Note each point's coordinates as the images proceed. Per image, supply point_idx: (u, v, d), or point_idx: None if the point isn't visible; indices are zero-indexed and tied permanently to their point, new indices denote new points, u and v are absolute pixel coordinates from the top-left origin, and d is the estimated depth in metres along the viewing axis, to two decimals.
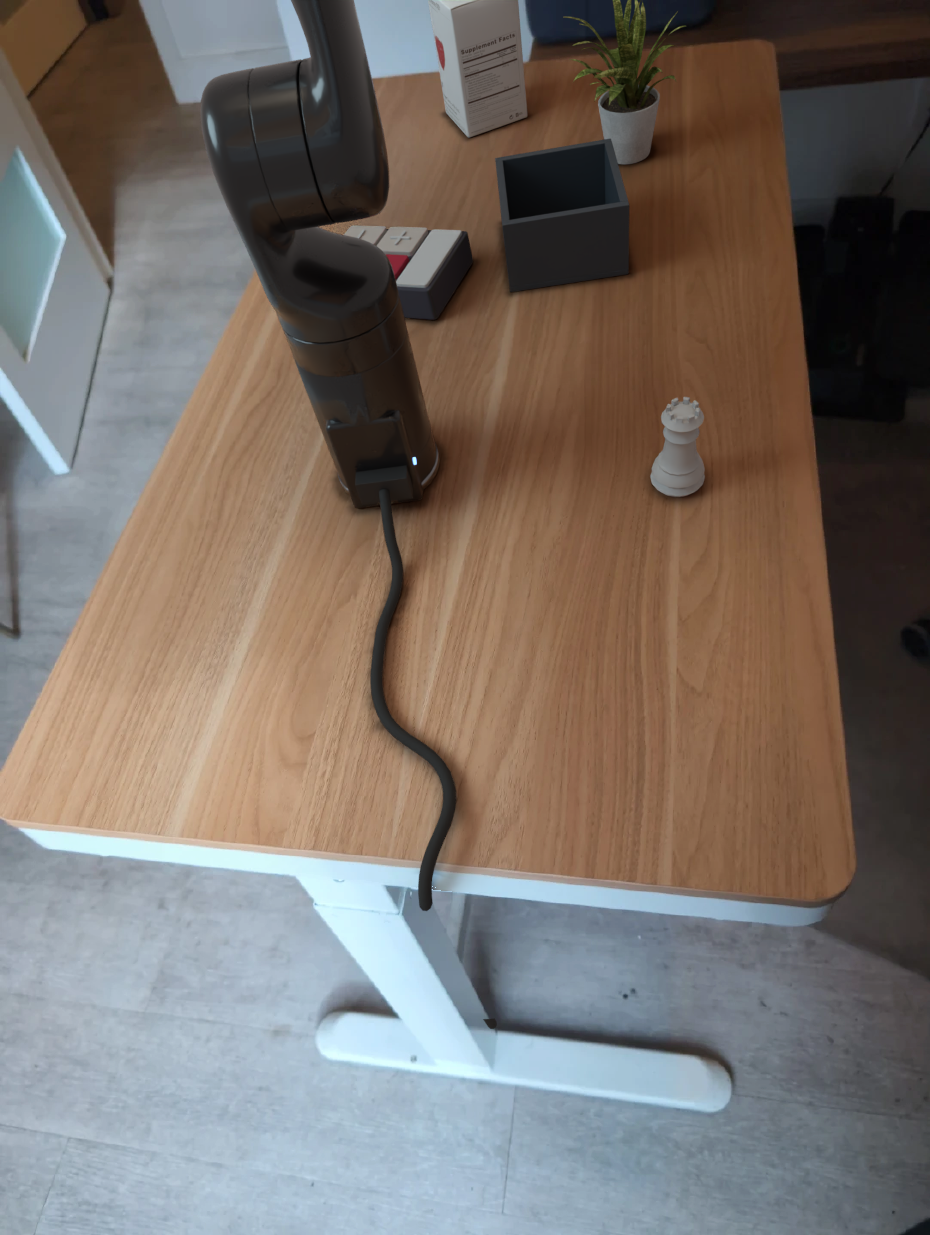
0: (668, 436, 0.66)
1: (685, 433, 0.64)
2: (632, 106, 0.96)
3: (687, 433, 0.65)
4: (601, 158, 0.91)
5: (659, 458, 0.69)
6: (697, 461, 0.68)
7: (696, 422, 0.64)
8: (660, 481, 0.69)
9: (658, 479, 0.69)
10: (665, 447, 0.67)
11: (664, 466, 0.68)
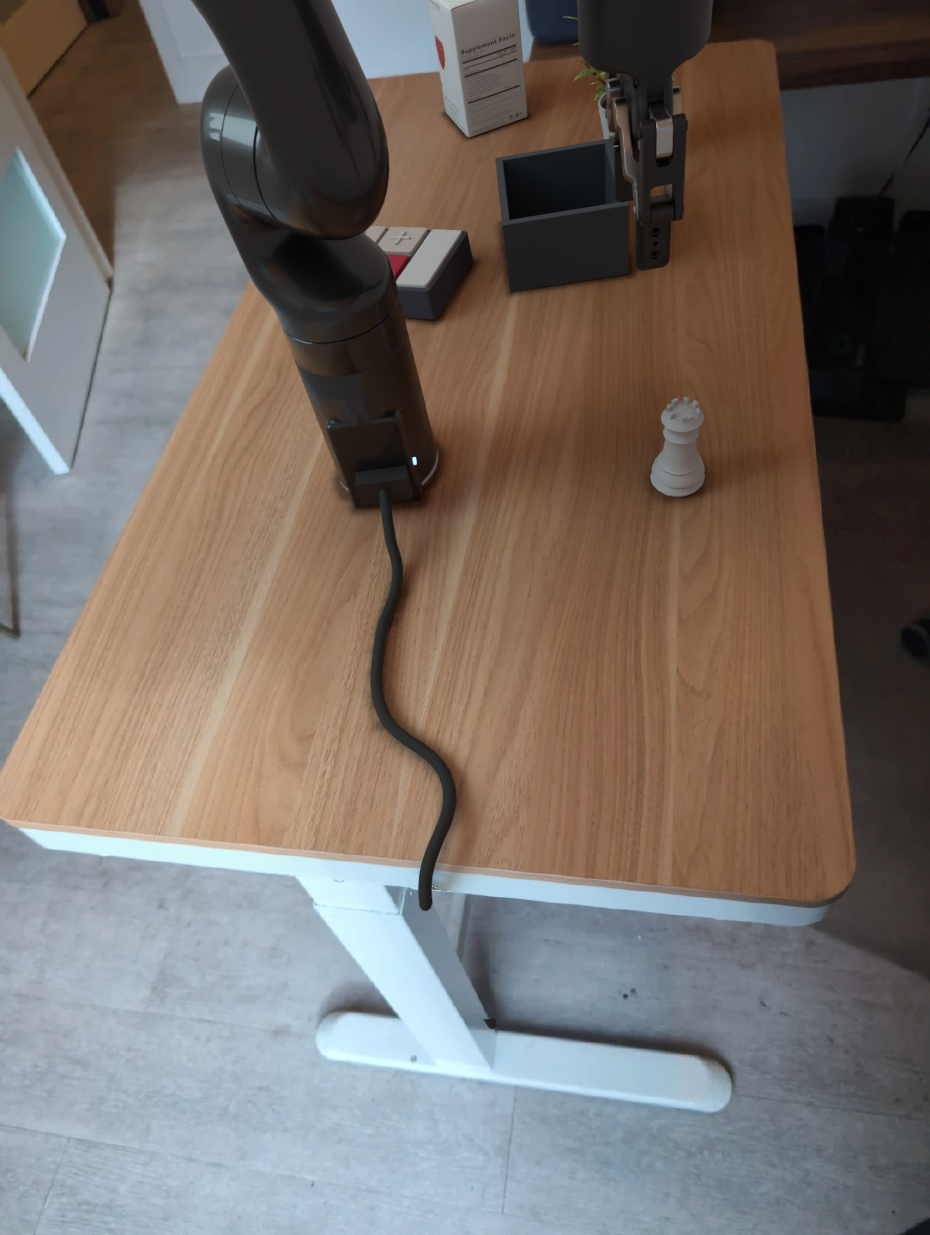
0: (668, 436, 0.66)
1: (685, 433, 0.64)
2: None
3: (687, 433, 0.65)
4: (601, 158, 0.91)
5: (659, 458, 0.69)
6: (697, 461, 0.68)
7: (696, 422, 0.64)
8: (660, 481, 0.69)
9: (658, 479, 0.69)
10: (665, 447, 0.67)
11: (664, 466, 0.68)
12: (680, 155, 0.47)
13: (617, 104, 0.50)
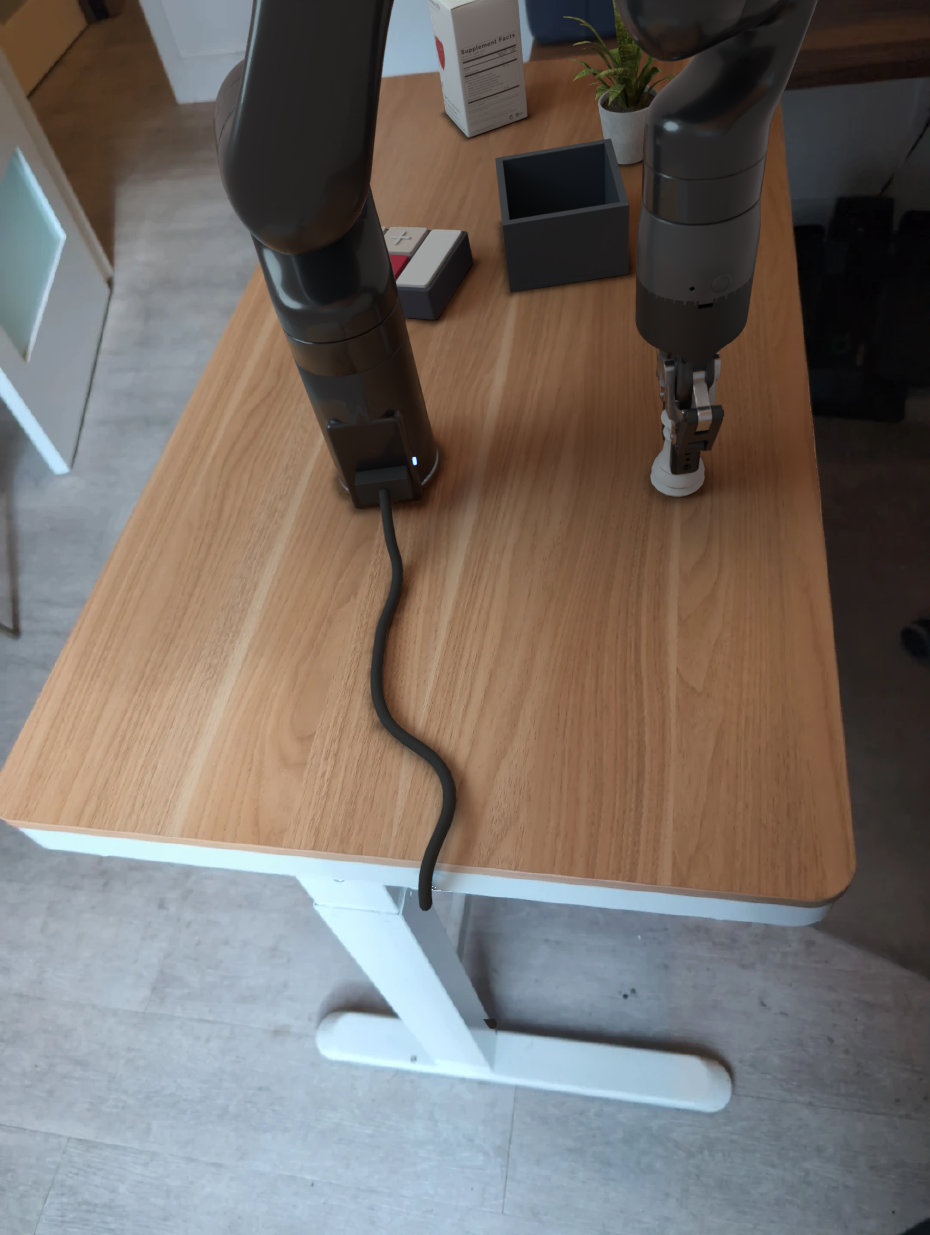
0: (668, 436, 0.66)
1: None
2: (632, 106, 0.96)
3: None
4: (601, 158, 0.91)
5: (659, 458, 0.69)
6: None
7: None
8: (660, 481, 0.69)
9: (658, 479, 0.69)
10: (665, 447, 0.67)
11: (664, 466, 0.68)
12: (715, 430, 0.58)
13: (666, 370, 0.59)
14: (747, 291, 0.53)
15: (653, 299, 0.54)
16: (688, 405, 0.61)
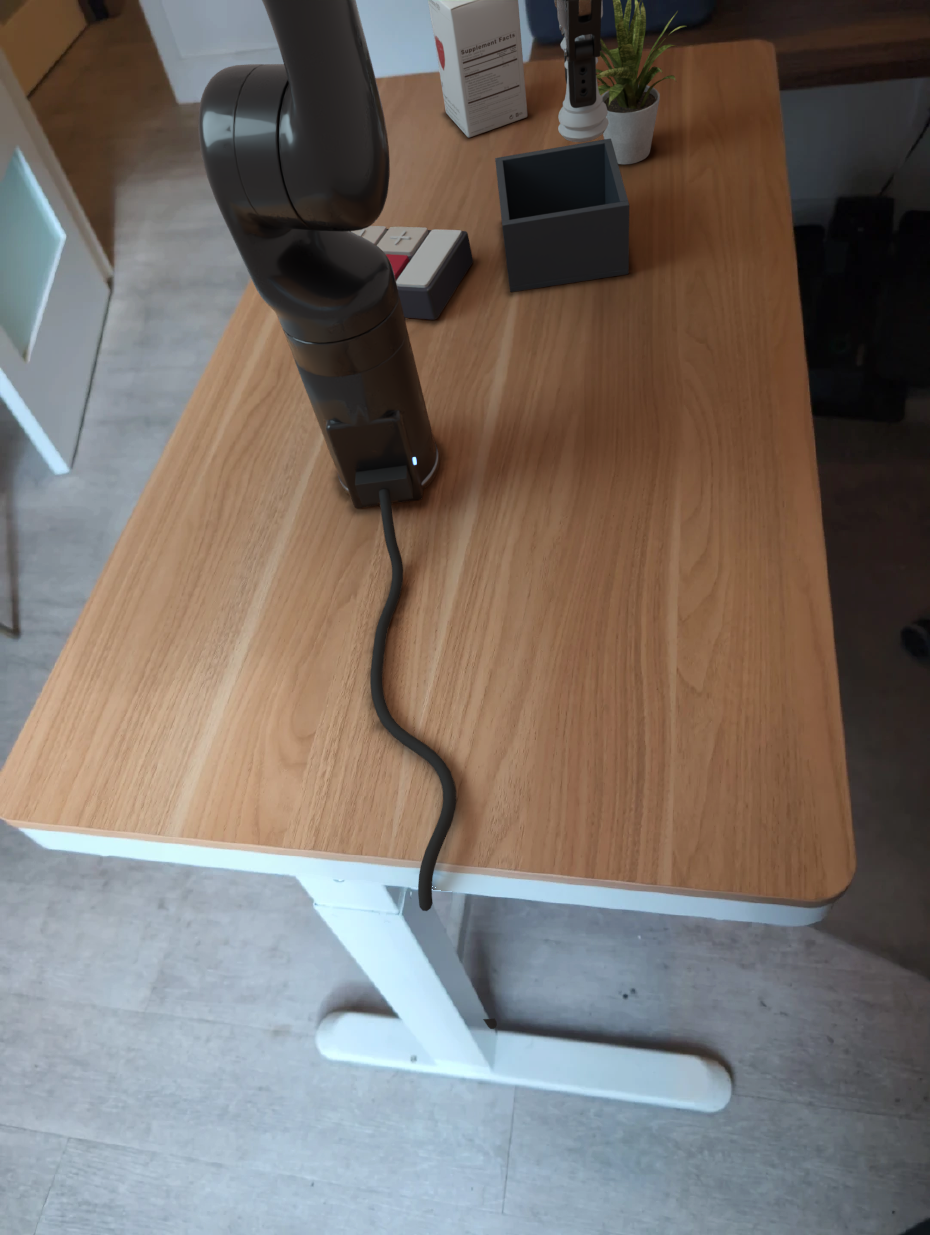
0: None
1: None
2: (632, 106, 0.96)
3: None
4: (601, 158, 0.91)
5: (564, 101, 0.72)
6: (599, 100, 0.71)
7: None
8: (565, 123, 0.72)
9: (563, 122, 0.72)
10: (567, 82, 0.70)
11: (567, 105, 0.71)
12: (597, 14, 0.61)
13: None
14: None
15: None
16: None
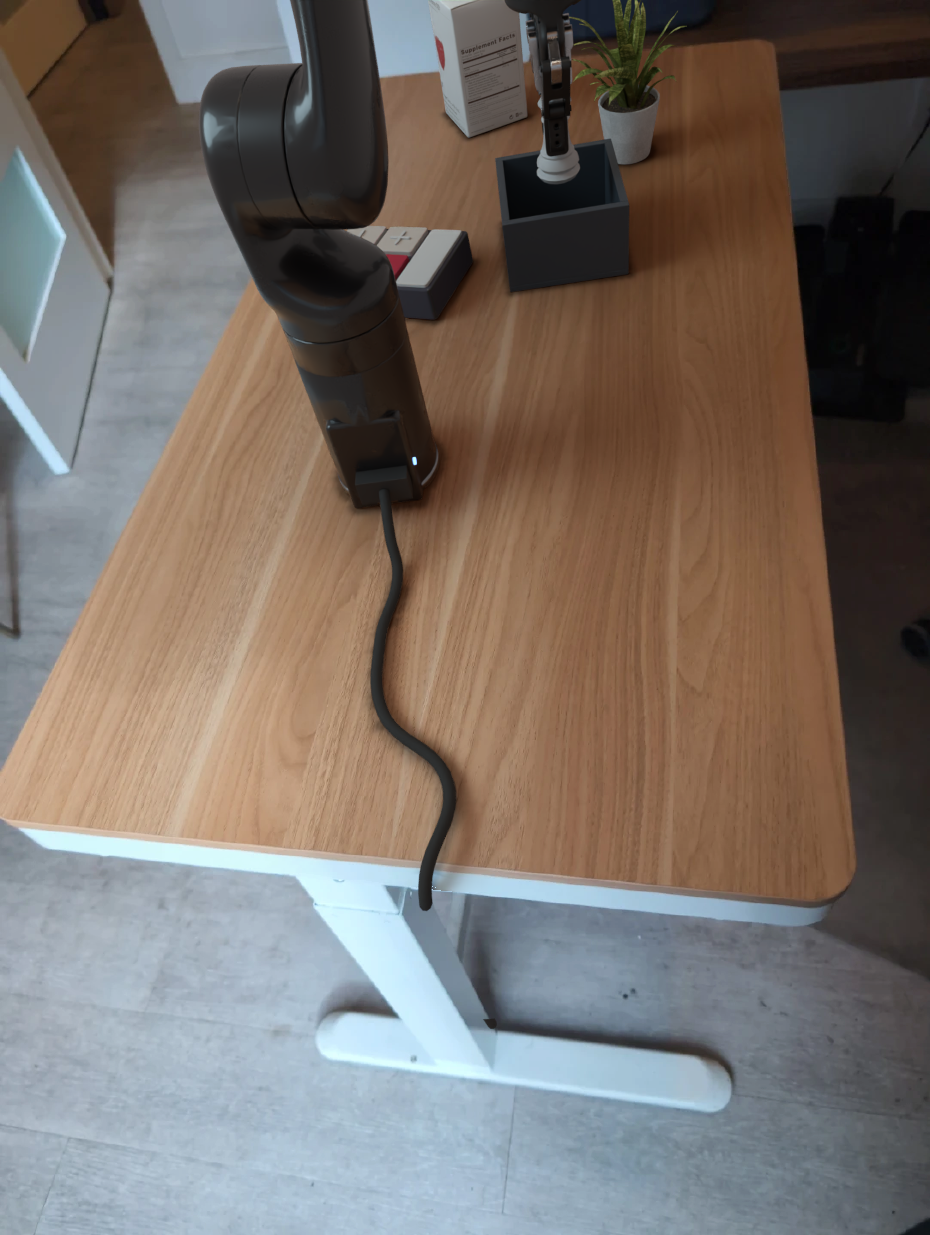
0: None
1: None
2: (632, 106, 0.96)
3: None
4: (601, 158, 0.91)
5: (541, 149, 0.84)
6: (571, 149, 0.83)
7: None
8: (542, 168, 0.84)
9: (541, 167, 0.84)
10: (544, 134, 0.82)
11: (544, 153, 0.83)
12: (567, 83, 0.73)
13: (530, 40, 0.74)
14: None
15: None
16: None
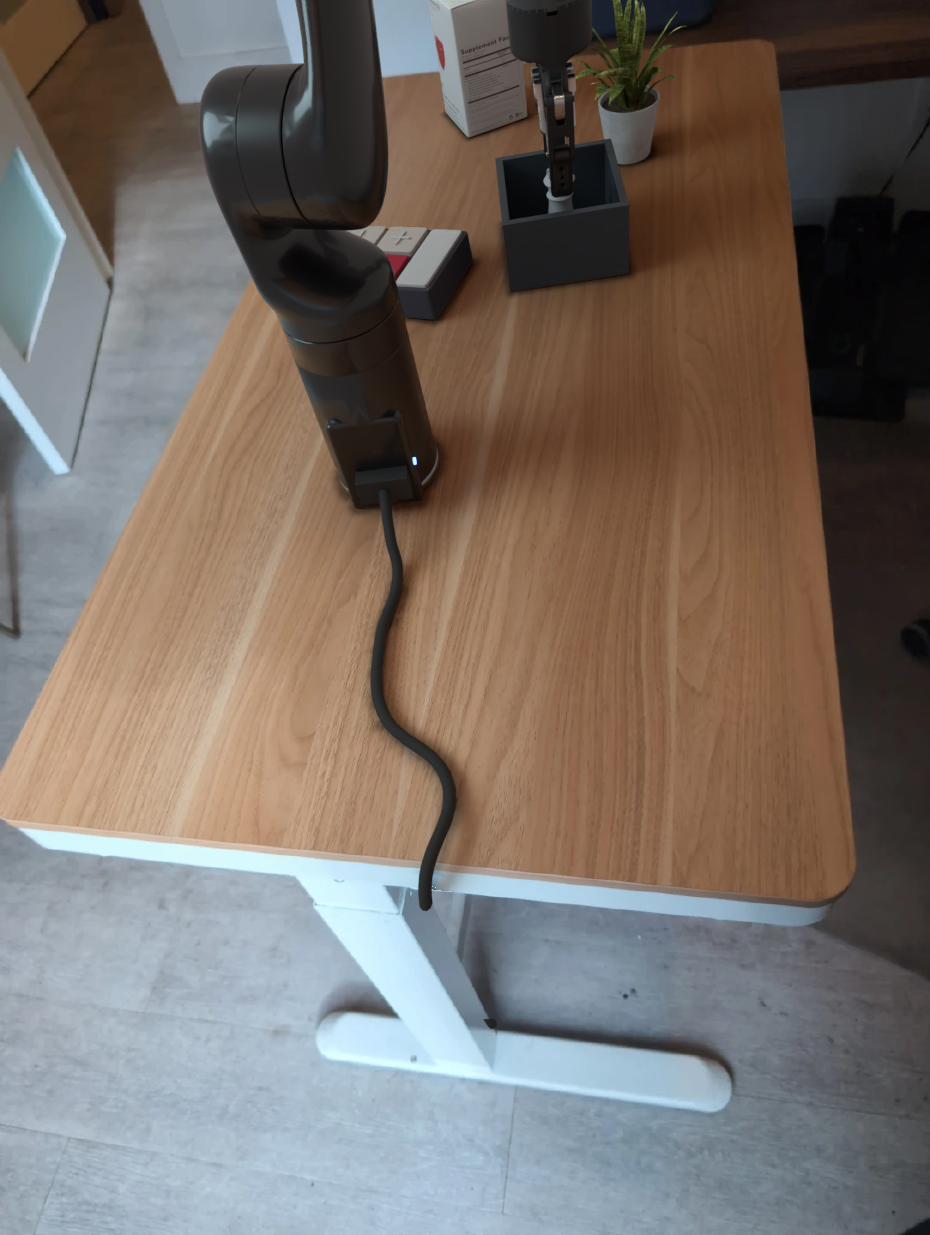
0: (549, 196, 0.87)
1: None
2: (632, 106, 0.96)
3: None
4: (601, 158, 0.91)
5: None
6: None
7: None
8: None
9: None
10: (549, 208, 0.89)
11: None
12: (570, 118, 0.75)
13: (534, 84, 0.77)
14: (585, 6, 0.72)
15: (516, 13, 0.72)
16: None
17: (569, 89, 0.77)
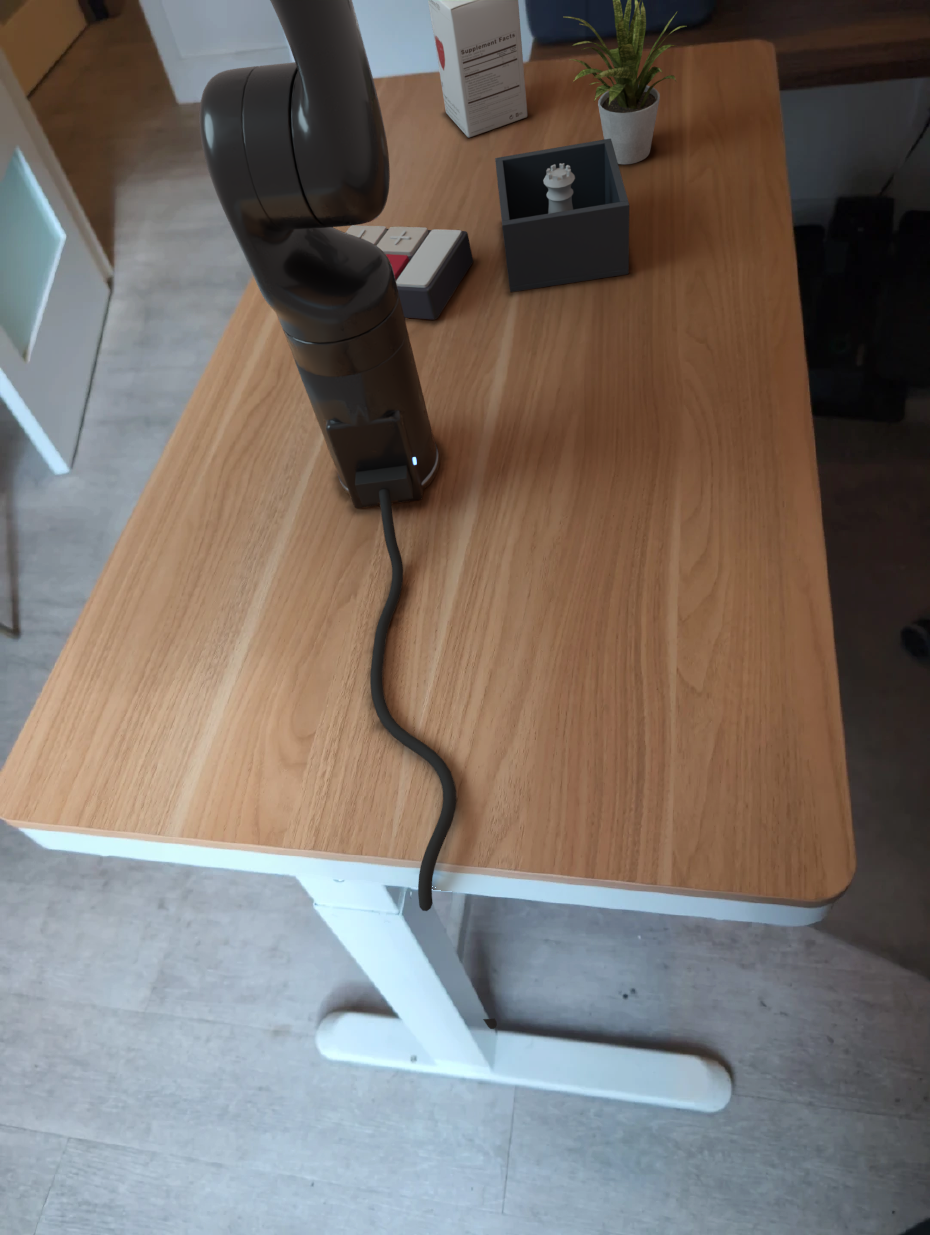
0: (549, 196, 0.87)
1: (560, 190, 0.86)
2: (632, 106, 0.96)
3: (562, 190, 0.86)
4: (601, 158, 0.91)
5: None
6: None
7: (568, 180, 0.85)
8: None
9: None
10: (549, 208, 0.89)
11: None
12: None
13: None
14: None
15: None
16: None
17: None
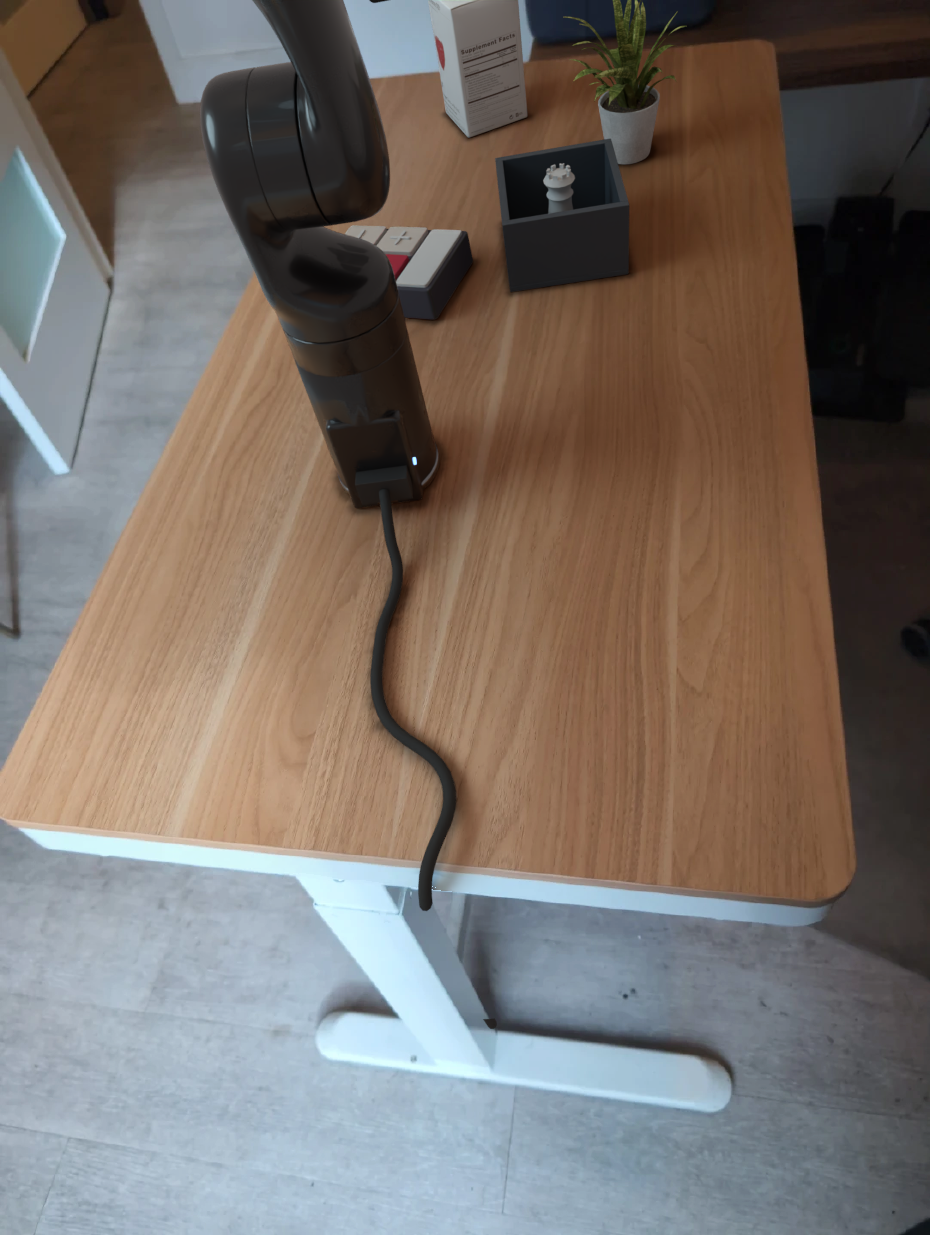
0: (549, 196, 0.87)
1: (561, 190, 0.86)
2: (632, 106, 0.96)
3: (562, 190, 0.86)
4: (601, 158, 0.91)
5: None
6: None
7: (568, 180, 0.85)
8: None
9: None
10: (549, 208, 0.89)
11: None
12: None
13: None
14: None
15: None
16: None
17: None
